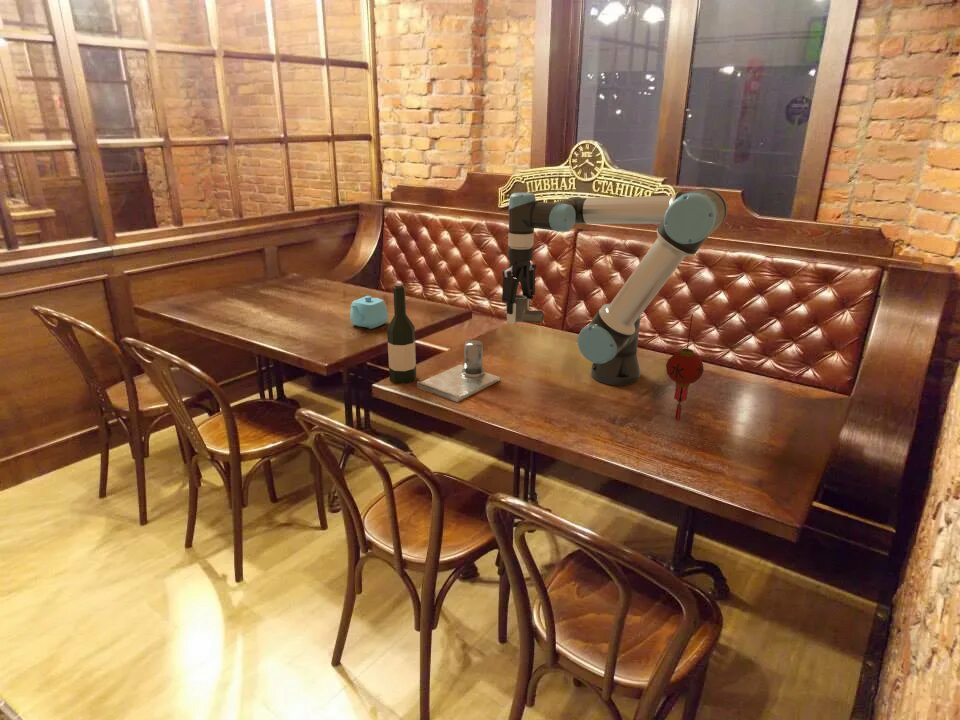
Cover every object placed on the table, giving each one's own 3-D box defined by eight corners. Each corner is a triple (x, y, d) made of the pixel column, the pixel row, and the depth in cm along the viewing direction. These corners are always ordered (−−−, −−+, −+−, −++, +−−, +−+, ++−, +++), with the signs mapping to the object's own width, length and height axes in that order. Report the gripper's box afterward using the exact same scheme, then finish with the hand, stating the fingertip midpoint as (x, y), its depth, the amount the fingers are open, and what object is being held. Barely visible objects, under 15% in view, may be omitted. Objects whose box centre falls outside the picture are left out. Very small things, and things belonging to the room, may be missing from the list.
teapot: (339, 330, 234) (337, 301, 230) (369, 317, 249) (367, 289, 245) (365, 335, 229) (364, 305, 225) (394, 322, 244) (392, 293, 239)
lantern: (652, 419, 168) (665, 313, 156) (670, 408, 174) (684, 306, 163) (684, 431, 161) (700, 322, 150) (702, 419, 167) (718, 314, 156)
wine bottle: (391, 385, 187) (386, 289, 176) (387, 374, 195) (382, 282, 184) (418, 382, 189) (415, 287, 178) (414, 372, 197) (410, 280, 186)
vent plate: (500, 379, 192) (501, 346, 187) (457, 402, 177) (456, 366, 172) (461, 367, 201) (461, 334, 197) (417, 387, 186) (415, 352, 182)
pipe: (540, 326, 187) (542, 301, 184) (499, 321, 190) (501, 296, 188) (544, 322, 193) (546, 297, 190) (505, 317, 196) (506, 292, 193)
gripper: (529, 240, 192) (527, 311, 201) (490, 249, 179) (488, 325, 188) (549, 243, 187) (545, 316, 196) (510, 253, 174) (507, 331, 183)
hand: (517, 320), depth 192 cm, fingers closed on pipe, 6 cm apart
